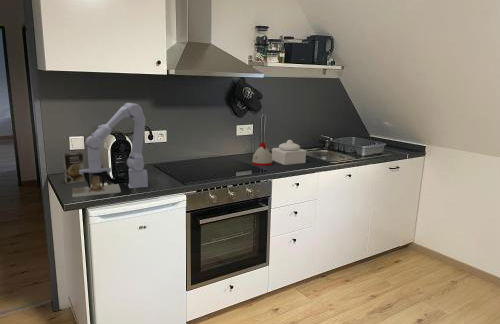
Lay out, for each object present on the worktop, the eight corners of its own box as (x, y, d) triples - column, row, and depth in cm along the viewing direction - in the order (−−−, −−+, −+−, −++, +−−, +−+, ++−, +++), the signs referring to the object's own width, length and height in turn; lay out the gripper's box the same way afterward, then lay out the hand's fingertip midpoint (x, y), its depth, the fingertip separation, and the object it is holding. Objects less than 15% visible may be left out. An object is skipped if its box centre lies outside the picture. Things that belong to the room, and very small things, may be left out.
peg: (100, 191, 197) (99, 175, 195) (101, 193, 193) (100, 177, 192) (92, 191, 195) (91, 176, 194) (92, 193, 192) (91, 178, 190)
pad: (107, 183, 210) (107, 182, 210) (108, 187, 203) (108, 186, 203) (91, 185, 207) (91, 184, 207) (91, 189, 200) (91, 188, 200)
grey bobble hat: (257, 166, 257) (257, 144, 254) (249, 162, 270) (249, 141, 267) (275, 165, 263) (276, 143, 260) (266, 161, 275) (267, 140, 272)
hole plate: (118, 187, 204) (118, 183, 203) (120, 193, 194) (120, 189, 193) (72, 191, 195) (72, 187, 194) (72, 198, 185) (72, 193, 185)
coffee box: (67, 184, 207) (64, 155, 204) (64, 182, 212) (62, 153, 209) (85, 182, 212) (82, 153, 209) (82, 179, 217) (80, 151, 214)
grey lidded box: (271, 160, 278) (272, 138, 275) (292, 158, 286) (293, 137, 283) (284, 165, 263) (285, 142, 260) (306, 163, 271) (307, 140, 268)
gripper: (109, 157, 197) (110, 183, 200) (78, 159, 191) (80, 186, 194) (110, 160, 191) (112, 187, 194) (78, 162, 185) (80, 189, 188)
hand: (96, 186), depth 194 cm, fingers open, 6 cm apart
